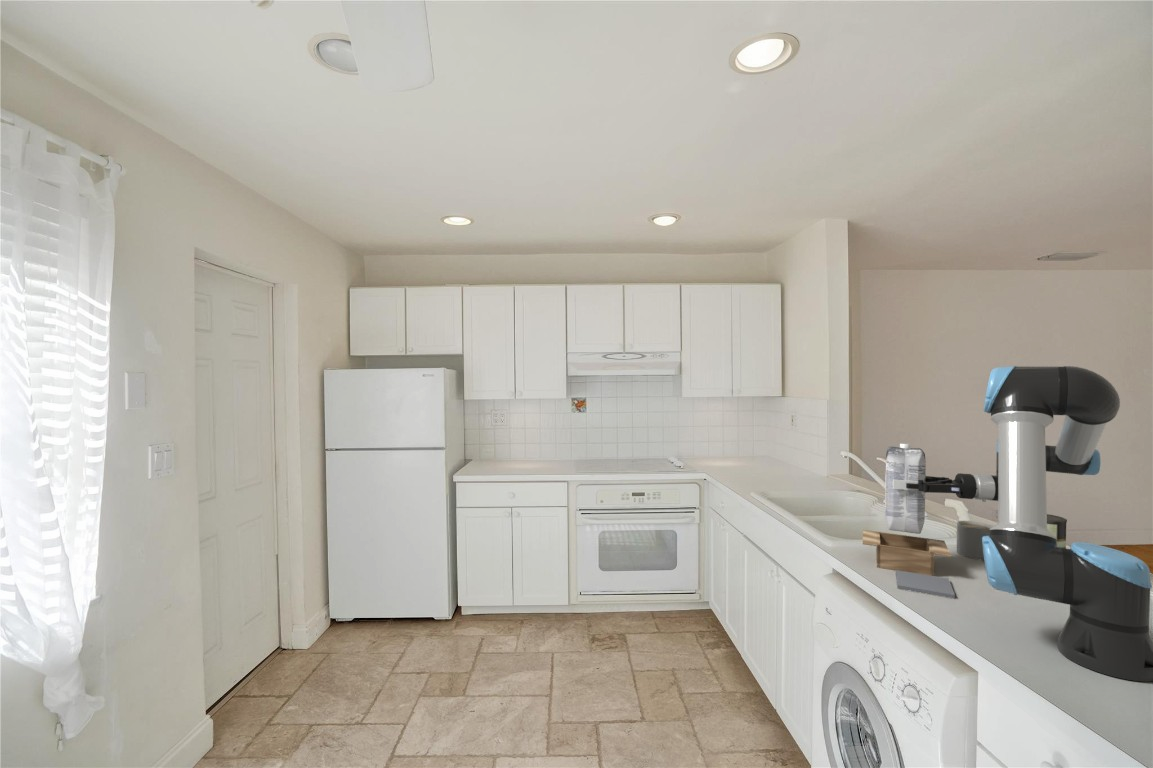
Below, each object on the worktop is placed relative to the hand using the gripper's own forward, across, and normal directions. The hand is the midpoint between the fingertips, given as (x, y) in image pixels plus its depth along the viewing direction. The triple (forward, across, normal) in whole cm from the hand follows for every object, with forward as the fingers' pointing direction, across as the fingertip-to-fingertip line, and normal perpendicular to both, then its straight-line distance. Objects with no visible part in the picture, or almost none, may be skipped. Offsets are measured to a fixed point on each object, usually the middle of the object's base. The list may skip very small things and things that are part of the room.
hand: (889, 481), depth 167 cm
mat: (-5, -18, -26) cm, 32 cm away
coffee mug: (-31, +18, -26) cm, 44 cm away
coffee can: (-48, +20, -26) cm, 58 cm away
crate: (-4, 0, -26) cm, 26 cm away
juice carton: (-4, 0, -15) cm, 16 cm away
